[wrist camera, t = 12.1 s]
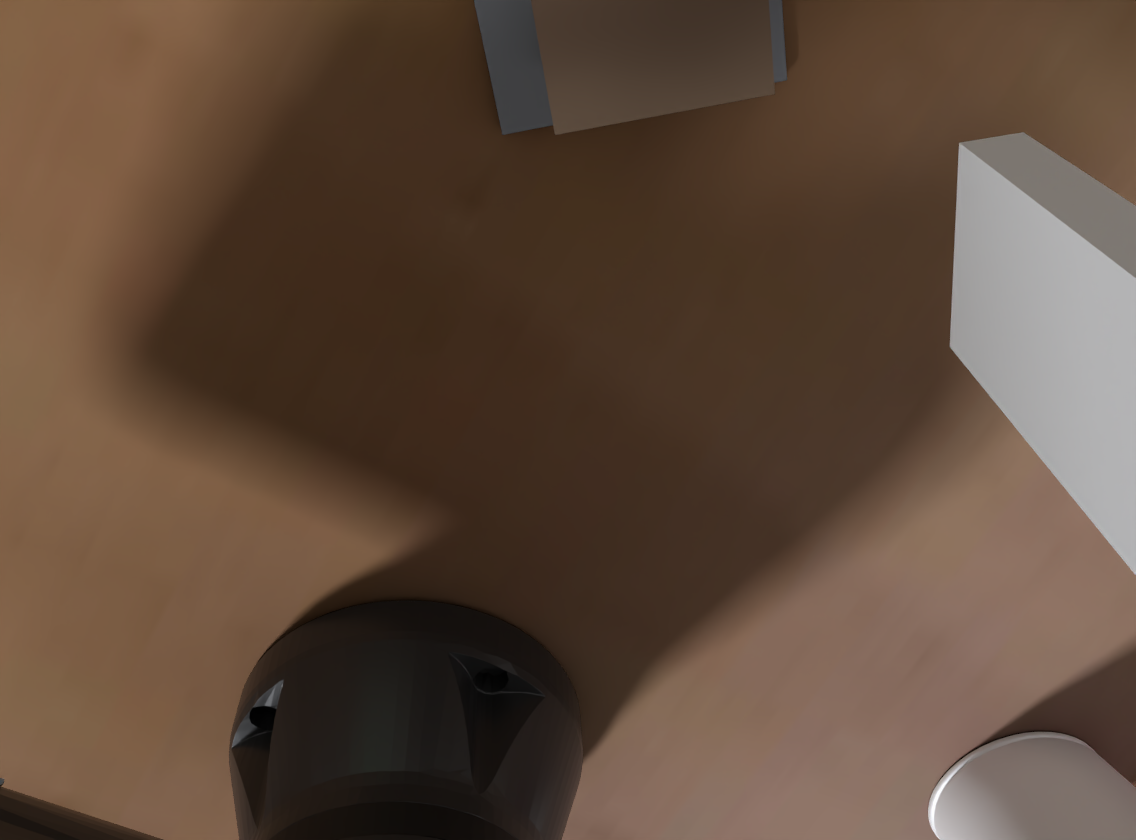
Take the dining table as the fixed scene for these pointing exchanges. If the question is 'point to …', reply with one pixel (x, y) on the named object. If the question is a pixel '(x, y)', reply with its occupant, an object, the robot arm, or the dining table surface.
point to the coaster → (521, 67)
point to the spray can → (1033, 793)
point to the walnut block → (650, 57)
